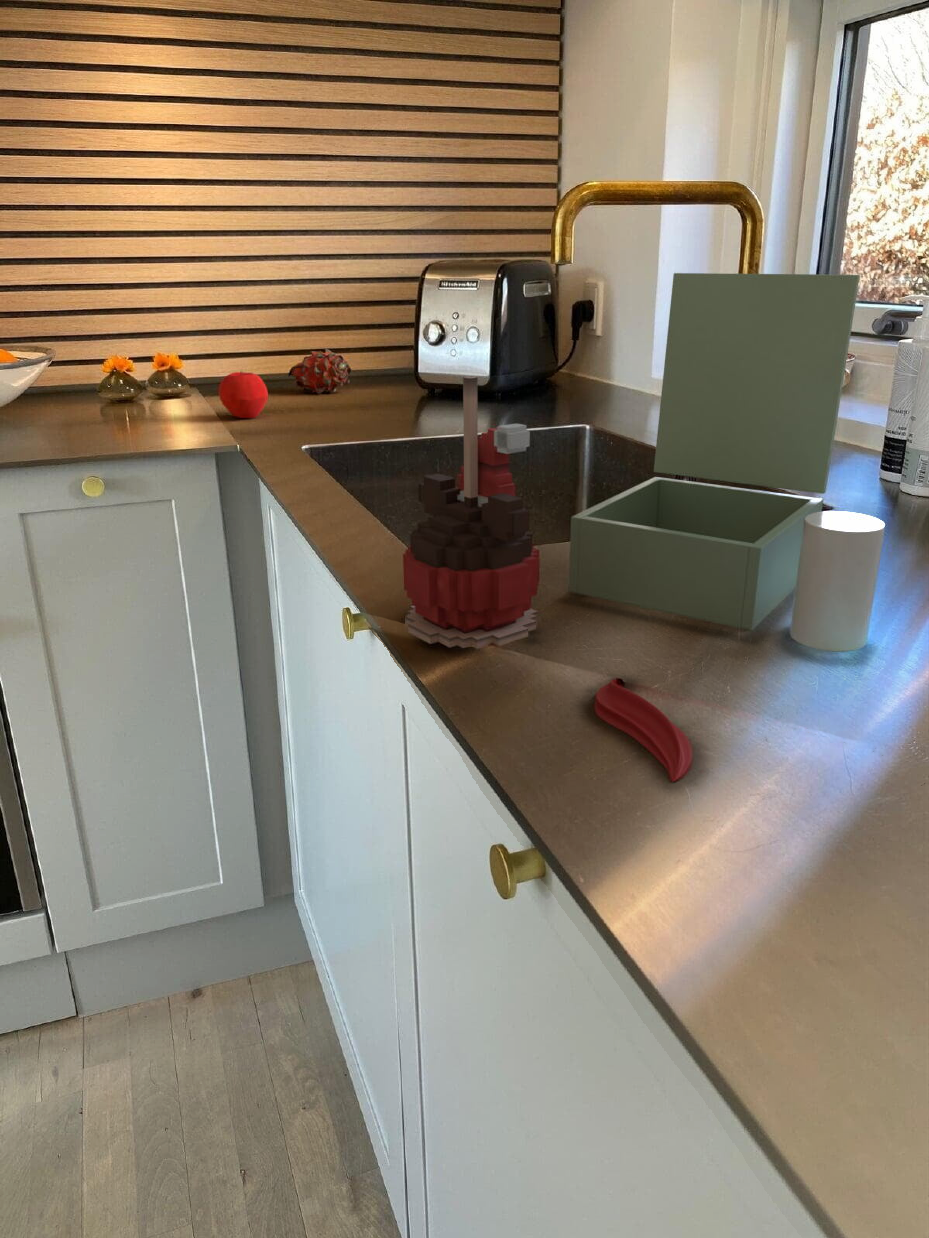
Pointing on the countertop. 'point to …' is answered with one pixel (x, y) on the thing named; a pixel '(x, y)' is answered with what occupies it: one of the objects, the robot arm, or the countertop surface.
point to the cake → (473, 545)
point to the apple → (243, 394)
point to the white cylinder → (836, 580)
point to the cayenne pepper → (645, 726)
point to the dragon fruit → (321, 372)
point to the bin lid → (754, 377)
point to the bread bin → (691, 549)
